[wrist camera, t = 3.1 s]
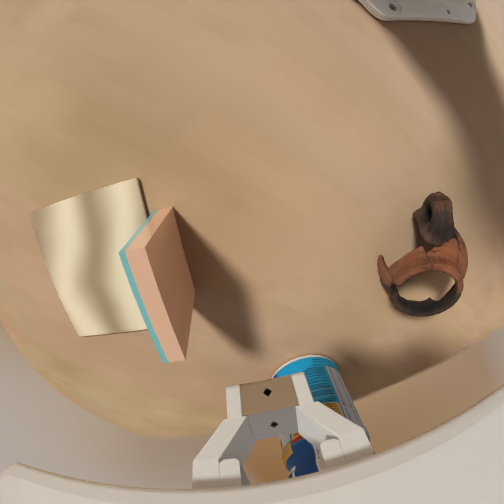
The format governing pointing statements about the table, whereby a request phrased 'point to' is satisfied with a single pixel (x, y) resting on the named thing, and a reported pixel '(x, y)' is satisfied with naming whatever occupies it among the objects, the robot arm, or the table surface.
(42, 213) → the cream cloth
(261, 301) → the table surface
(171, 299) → the glazed tile
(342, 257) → the table surface
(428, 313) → the brown ring-shaped piece
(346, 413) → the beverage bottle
